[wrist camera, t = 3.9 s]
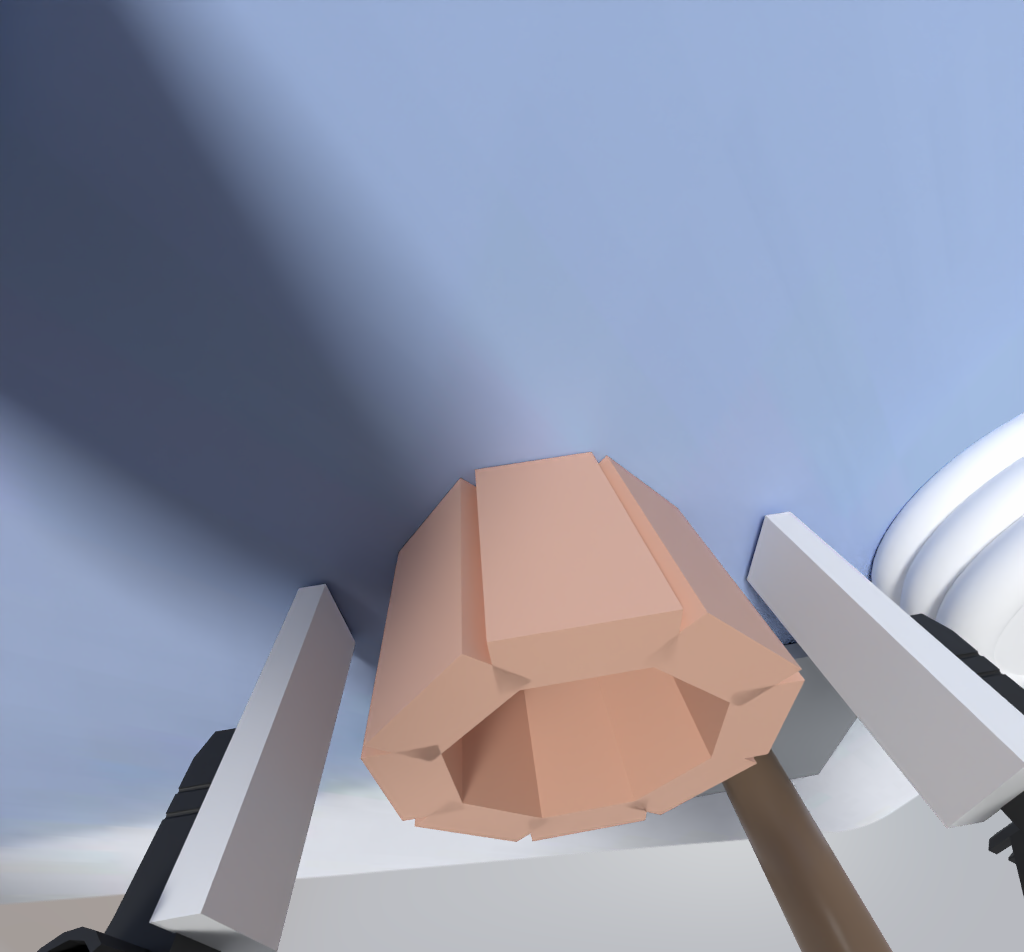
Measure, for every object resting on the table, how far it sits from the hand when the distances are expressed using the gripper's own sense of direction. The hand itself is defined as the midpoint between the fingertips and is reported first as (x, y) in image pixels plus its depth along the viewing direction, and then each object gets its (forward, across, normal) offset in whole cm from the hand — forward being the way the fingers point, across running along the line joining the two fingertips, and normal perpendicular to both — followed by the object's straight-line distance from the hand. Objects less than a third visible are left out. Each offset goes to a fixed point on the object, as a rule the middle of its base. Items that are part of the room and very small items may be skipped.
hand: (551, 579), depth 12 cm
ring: (0, 0, 0) cm, 0 cm away
